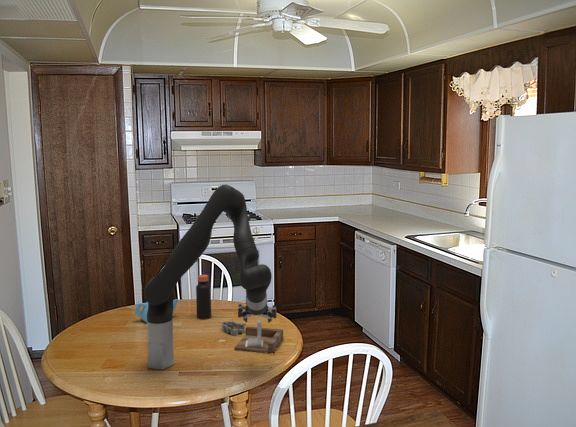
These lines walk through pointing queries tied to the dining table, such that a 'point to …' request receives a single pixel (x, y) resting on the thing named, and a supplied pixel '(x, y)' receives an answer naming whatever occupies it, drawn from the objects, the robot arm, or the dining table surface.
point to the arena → (269, 340)
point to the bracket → (257, 341)
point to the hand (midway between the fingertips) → (257, 320)
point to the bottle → (203, 297)
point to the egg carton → (230, 326)
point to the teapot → (145, 309)
